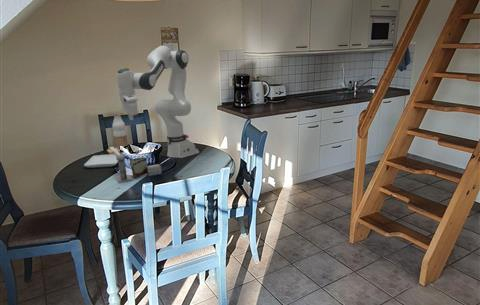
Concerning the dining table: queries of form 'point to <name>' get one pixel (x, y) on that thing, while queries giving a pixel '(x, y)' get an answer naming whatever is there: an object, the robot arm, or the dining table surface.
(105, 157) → the salad plate
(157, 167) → the block
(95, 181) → the dining table surface
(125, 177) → the rack post
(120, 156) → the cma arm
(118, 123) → the fruit juice
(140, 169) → the food container
